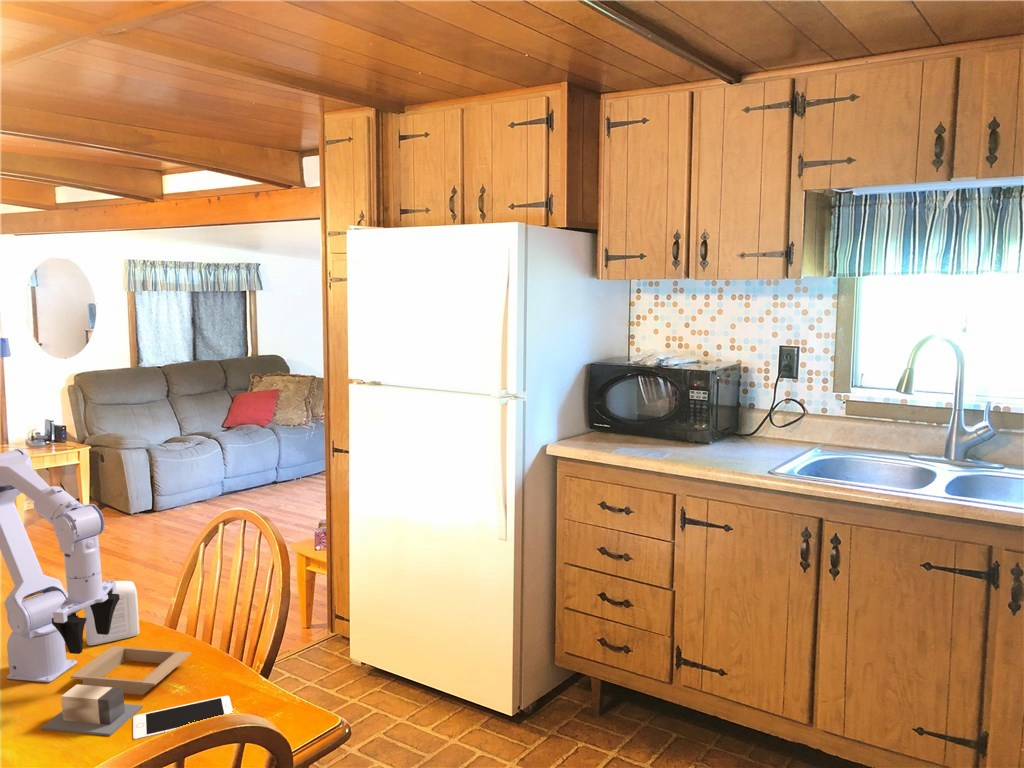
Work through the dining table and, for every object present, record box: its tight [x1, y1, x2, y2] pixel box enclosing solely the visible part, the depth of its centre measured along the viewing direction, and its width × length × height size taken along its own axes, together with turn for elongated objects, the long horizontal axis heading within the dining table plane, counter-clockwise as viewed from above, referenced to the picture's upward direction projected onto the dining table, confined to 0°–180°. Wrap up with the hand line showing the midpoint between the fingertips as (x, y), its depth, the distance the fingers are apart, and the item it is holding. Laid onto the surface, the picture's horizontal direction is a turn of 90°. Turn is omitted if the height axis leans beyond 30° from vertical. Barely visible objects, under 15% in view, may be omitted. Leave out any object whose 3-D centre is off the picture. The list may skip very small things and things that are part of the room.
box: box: [60, 683, 125, 725], centre depth 143 cm, size 9×4×4 cm, turn 81°
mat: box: [40, 703, 143, 737], centre depth 143 cm, size 13×9×1 cm
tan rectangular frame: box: [70, 645, 192, 696], centre depth 158 cm, size 17×12×2 cm
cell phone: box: [132, 695, 234, 741], centre depth 144 cm, size 8×16×1 cm, turn 115°
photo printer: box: [83, 580, 140, 646], centre depth 173 cm, size 10×4×12 cm, turn 123°
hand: (89, 643), depth 151 cm, fingers open, 7 cm apart
